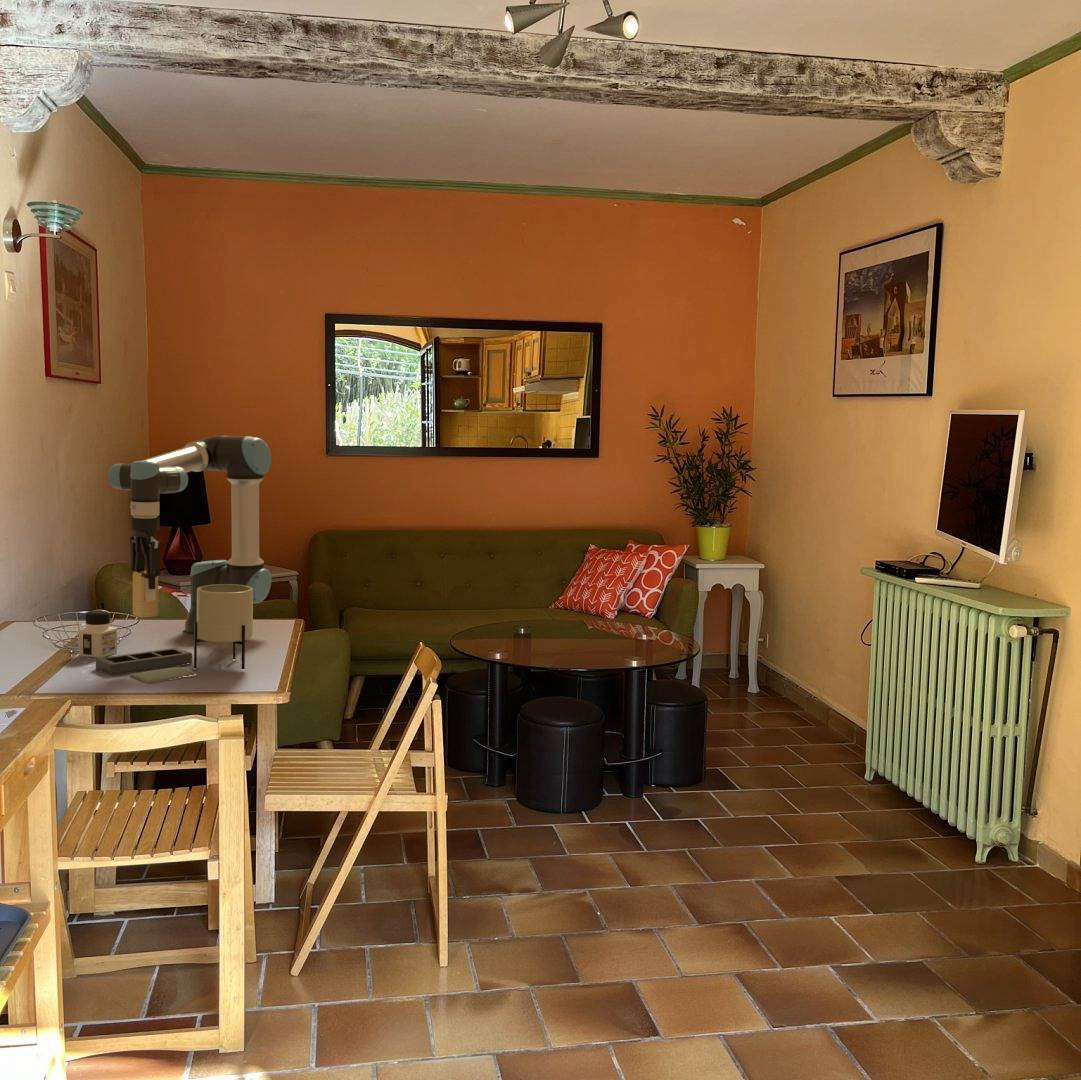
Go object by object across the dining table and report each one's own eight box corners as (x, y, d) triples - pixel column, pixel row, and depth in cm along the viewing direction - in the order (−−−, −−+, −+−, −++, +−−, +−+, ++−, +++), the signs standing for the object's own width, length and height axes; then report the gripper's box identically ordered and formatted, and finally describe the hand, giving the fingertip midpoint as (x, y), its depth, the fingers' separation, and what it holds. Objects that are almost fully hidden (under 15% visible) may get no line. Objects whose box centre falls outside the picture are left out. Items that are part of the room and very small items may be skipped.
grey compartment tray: (176, 657, 311) (176, 647, 310) (191, 663, 305) (191, 653, 304) (95, 669, 293) (95, 658, 293) (110, 675, 287) (110, 664, 287)
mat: (178, 668, 298) (178, 666, 298) (196, 675, 291) (196, 673, 291) (130, 675, 288) (130, 673, 288) (147, 683, 281) (147, 681, 281)
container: (101, 658, 306) (101, 614, 304) (78, 656, 307) (77, 612, 306) (117, 652, 313) (117, 609, 312) (94, 650, 315) (94, 607, 313)
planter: (259, 662, 309) (261, 585, 307) (241, 675, 294) (242, 594, 291) (209, 659, 310) (209, 582, 308) (187, 672, 294) (188, 591, 292)
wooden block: (149, 612, 301) (149, 570, 300) (158, 615, 298) (158, 572, 296) (132, 614, 297) (132, 571, 296) (141, 617, 294) (140, 573, 293)
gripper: (117, 513, 297) (117, 595, 300) (147, 520, 285) (147, 605, 288) (142, 512, 303) (143, 592, 306) (173, 519, 291) (173, 602, 294)
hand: (145, 598), depth 297 cm, fingers closed on wooden block, 5 cm apart
